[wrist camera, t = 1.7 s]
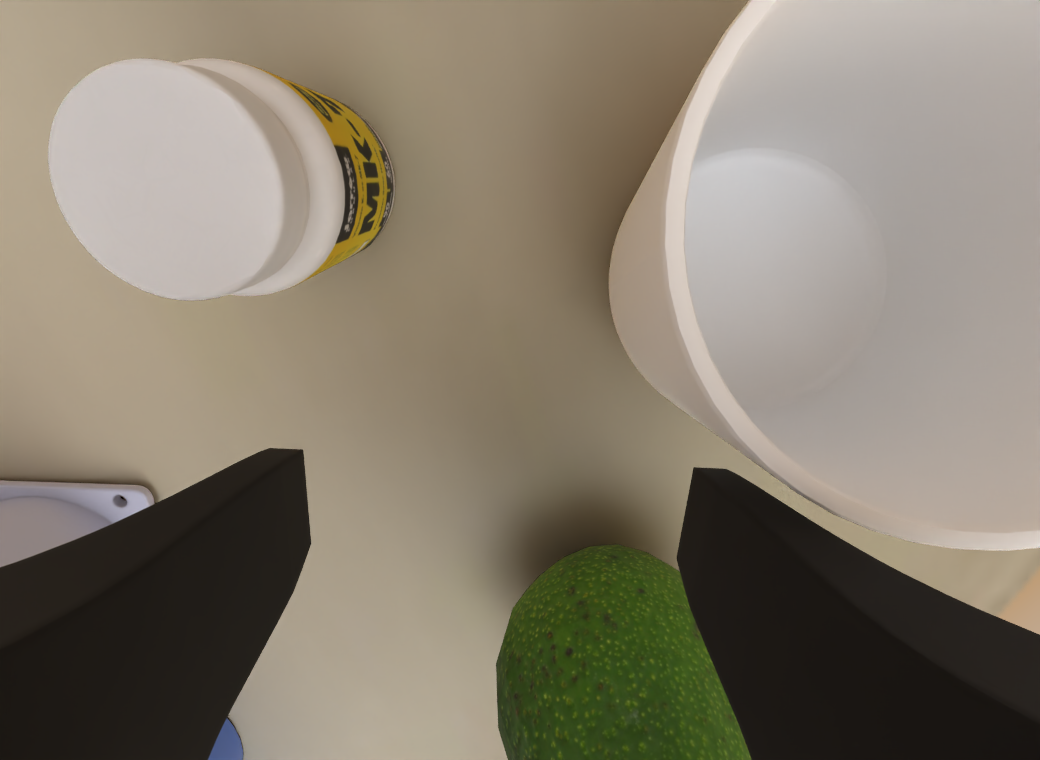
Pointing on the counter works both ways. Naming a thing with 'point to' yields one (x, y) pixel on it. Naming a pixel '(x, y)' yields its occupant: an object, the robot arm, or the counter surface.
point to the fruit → (611, 667)
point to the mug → (856, 261)
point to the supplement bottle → (215, 177)
